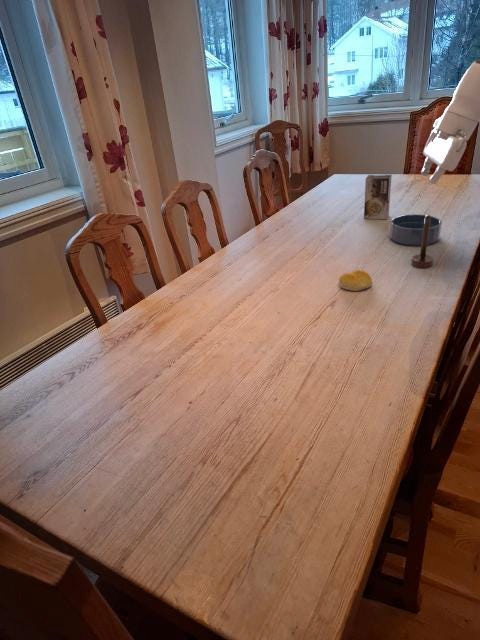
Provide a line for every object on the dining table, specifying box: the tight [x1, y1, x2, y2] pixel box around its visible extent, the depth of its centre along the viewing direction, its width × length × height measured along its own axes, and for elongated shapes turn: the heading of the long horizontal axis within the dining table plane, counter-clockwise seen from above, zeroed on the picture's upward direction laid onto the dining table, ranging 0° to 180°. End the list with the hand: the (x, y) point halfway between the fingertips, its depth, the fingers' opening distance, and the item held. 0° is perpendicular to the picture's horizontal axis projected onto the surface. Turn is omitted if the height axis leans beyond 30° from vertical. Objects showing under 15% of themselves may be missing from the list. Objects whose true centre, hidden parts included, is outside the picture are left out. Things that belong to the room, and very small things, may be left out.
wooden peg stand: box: [410, 214, 434, 269], centre depth 127 cm, size 6×6×15 cm
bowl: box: [389, 214, 443, 247], centre depth 148 cm, size 16×16×6 cm
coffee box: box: [363, 173, 393, 220], centre depth 170 cm, size 9×6×16 cm
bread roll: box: [338, 269, 373, 292], centre depth 121 cm, size 8×9×4 cm
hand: (427, 179), depth 120 cm, fingers open, 8 cm apart
